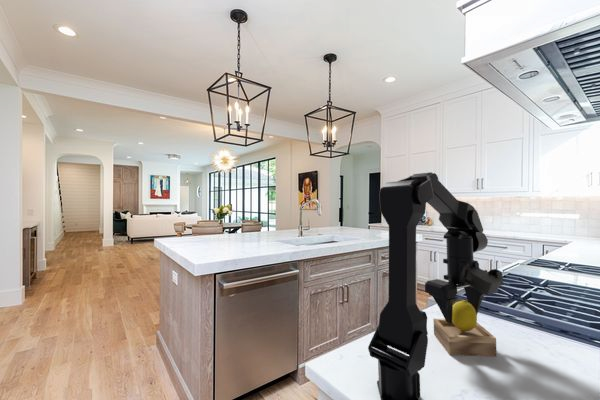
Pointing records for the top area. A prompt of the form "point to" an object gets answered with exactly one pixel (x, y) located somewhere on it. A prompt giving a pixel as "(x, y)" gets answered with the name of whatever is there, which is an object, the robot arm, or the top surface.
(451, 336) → the tan open box
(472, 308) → the lemon
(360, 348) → the top surface
